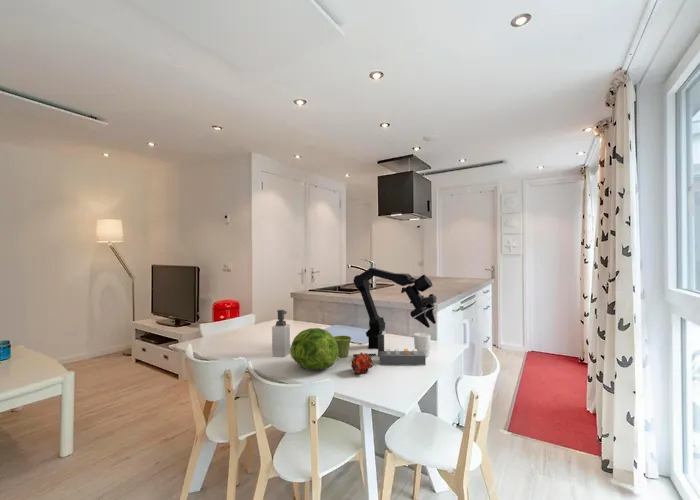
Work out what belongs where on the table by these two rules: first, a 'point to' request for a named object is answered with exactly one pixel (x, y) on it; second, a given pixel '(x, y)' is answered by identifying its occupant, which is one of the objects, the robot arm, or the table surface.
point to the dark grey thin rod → (368, 354)
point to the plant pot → (343, 345)
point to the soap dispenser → (281, 336)
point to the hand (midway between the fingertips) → (432, 325)
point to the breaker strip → (402, 357)
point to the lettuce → (314, 349)
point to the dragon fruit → (362, 363)
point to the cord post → (380, 343)
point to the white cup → (422, 343)
